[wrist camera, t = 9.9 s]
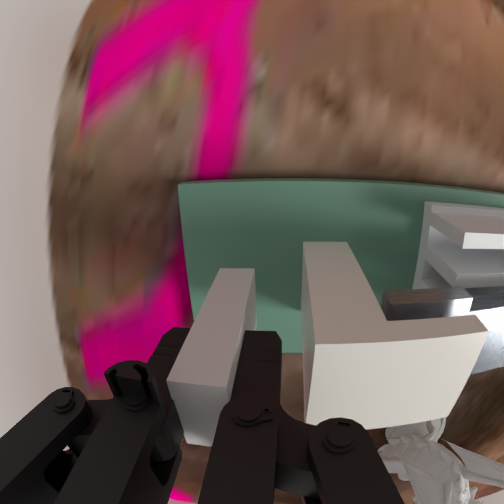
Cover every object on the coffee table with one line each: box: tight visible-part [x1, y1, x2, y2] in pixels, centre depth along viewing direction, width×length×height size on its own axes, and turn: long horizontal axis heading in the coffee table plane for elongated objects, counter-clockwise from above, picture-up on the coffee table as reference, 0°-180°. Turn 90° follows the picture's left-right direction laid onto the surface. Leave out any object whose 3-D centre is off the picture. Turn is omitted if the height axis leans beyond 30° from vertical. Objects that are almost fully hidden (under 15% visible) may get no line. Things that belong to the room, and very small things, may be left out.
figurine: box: [378, 417, 504, 504], centre depth 12 cm, size 11×8×12 cm
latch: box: [301, 242, 488, 430], centre depth 10 cm, size 5×4×7 cm
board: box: [178, 178, 504, 368], centre depth 11 cm, size 22×9×7 cm, turn 92°
